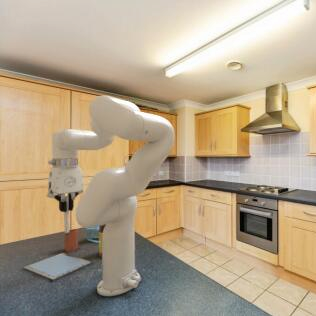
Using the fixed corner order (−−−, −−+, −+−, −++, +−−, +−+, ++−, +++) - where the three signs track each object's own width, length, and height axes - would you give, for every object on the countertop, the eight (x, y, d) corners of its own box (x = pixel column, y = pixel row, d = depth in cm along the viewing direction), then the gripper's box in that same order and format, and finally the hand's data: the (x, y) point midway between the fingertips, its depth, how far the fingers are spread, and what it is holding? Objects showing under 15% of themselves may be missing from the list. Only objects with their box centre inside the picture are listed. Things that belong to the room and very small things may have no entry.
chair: (95, 237, 112) (95, 214, 112) (109, 237, 111) (109, 215, 111) (82, 243, 105) (82, 219, 105) (97, 243, 104) (97, 219, 103)
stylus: (70, 234, 82) (69, 196, 81) (65, 235, 80) (65, 196, 80) (68, 234, 82) (67, 195, 82) (63, 235, 81) (63, 196, 81)
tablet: (91, 263, 85) (91, 261, 85) (52, 281, 73) (52, 278, 73) (62, 254, 93) (62, 252, 93) (23, 269, 81) (23, 267, 81)
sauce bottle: (107, 258, 89) (106, 211, 89) (95, 257, 90) (94, 211, 90) (119, 251, 95) (118, 207, 95) (107, 250, 97) (106, 207, 96)
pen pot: (80, 249, 98) (79, 230, 98) (68, 253, 94) (68, 233, 94) (74, 247, 100) (73, 228, 100) (62, 251, 95) (62, 232, 95)
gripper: (45, 164, 72) (46, 217, 72) (92, 162, 86) (93, 207, 87) (34, 164, 75) (35, 215, 75) (81, 162, 89) (82, 205, 90)
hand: (66, 210), depth 81 cm, fingers closed on stylus, 1 cm apart
